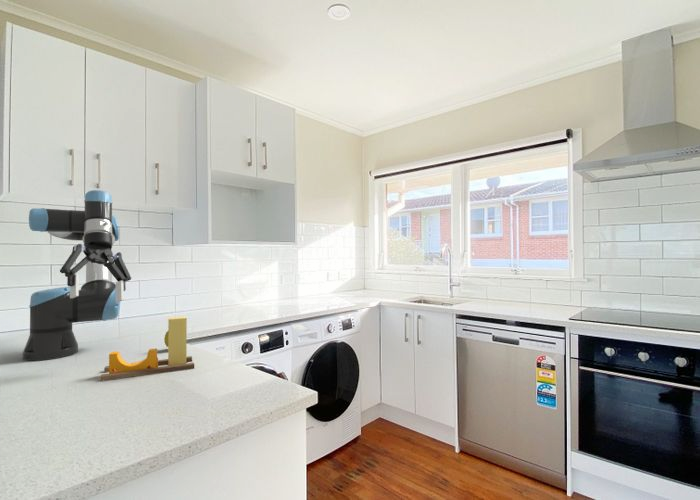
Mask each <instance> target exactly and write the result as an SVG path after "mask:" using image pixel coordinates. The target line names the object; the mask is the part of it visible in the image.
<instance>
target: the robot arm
mask: <svg viewBox="0 0 700 500" xmlns="http://www.w3.org/2000/svg"><path fill="white" fill-rule="evenodd" d="M83 203H84V210H76V209H75V210H74V209H57V208H43V207H42V208H41V207H40V208H38V207H37V208H36V207H35V208H34V207H33V208H31V209H30V210H29V212H28V226H29V229H30V230H31V231H33V232H41V233H43V232H46V233H48V234H49V235H51V236H52V237H55V238H59V239H63V240H69V241H82V242H83V245H82V244H81V243H78V244H76V245H74V246H73V247H72V251H71V254H70V255H69V256H68V258H67V260H66V261H65V262H64V264H63V265H62V267H61V268H60V269H59V273H61V274H64V276H65V277H66V279H67V282H66V285H67V286H63V287H54V288H48V289H43V290H38V291H35V292H33V293H32V294H31V295H30V303H29V306H28V307H29V336H28V339H27V341H26V343H25V346H24V348H23V351H22V360H25V361H44V360H52V359H53V360H54V359H58V358H65V357H68V356H72V355H75V354H77V353H79V344H78V341H77V338H76V335H75V334H74V331H73V324H76V323H87V322H97V321H98V322H99V321H103V322H104V321H107V320H115V319H116V318H118V317H119V313H120V308H121V302H123V301H124V300H125V299H124V298H125V297H124V296H125V293H124V292H125V291H126V283H127V282H129V281H131V280H132V276H131V274H130V272H129V270H128V268H127V266H126V264H125V262H124V260H123V256H122V255H123V254H122V253H121V252H113V251H112V248H113V245H115V242H117V241H119V238H120V236H119V235H120V233H119V232H120V231H119V223H118V220H117V217H116V216H115V215H113V199H112V195H111V194H110V193H109V192H108V191H104V190H98V189H95V190H94V189H93V190H89V191H87V192H86V193H85V195H84V201H83ZM81 253H83V254H84V255H85V256H84V258H82V259H81V260H80V261H79V262H78V263H77V264H75V266H73V265H74V263H75V262H76V261H77V259H78V257H79V256H80V254H81ZM85 266H86V267H85ZM83 267H85V283H83V284H82V285H81V287H80V274H78V272H80V270H81V269H82V268H83ZM113 278H114V279H115V280H116V281H117V282H114V281H113ZM79 287H80V288H79Z"/></svg>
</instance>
